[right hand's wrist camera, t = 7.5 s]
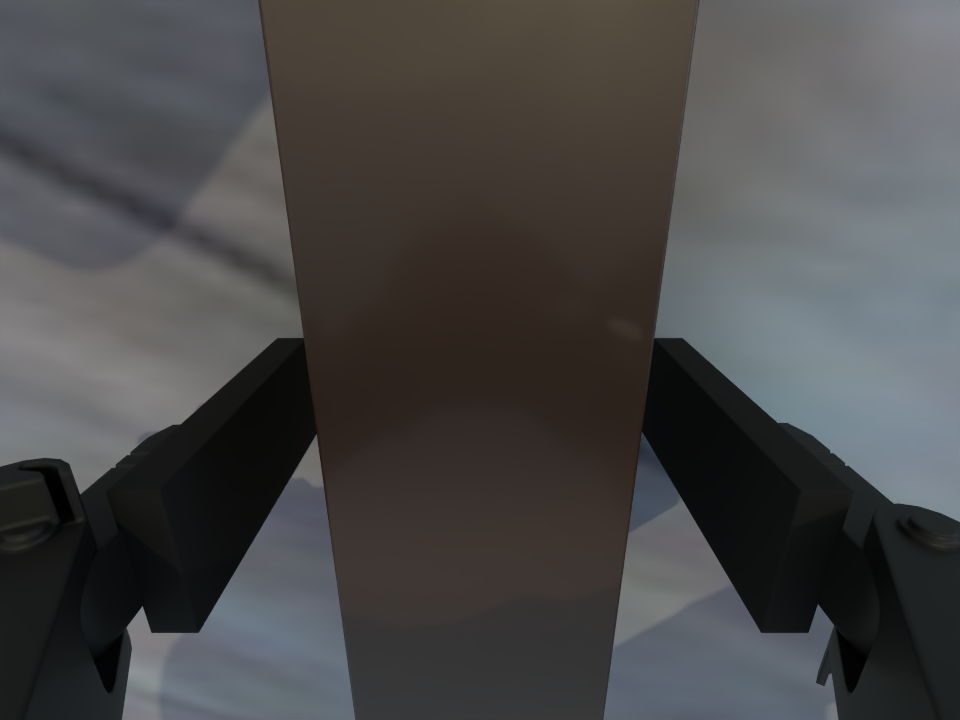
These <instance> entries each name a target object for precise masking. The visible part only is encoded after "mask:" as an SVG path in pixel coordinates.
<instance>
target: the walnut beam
mask: <svg viewBox="0 0 960 720" xmlns="http://www.w3.org/2000/svg"><path fill="white" fill-rule="evenodd" d="M258 1H259V9H260V16H261V23H262V31H263V38H264V46H265V53H266V60H267V68H268V75H269V83H270V90H271V97H272V105H273V112H274V120H275V127H276V135H277V142H278V149H279V157H280V164H281V172H282V179H283V186H284V194H285V201H286V209H287V216H288V223H289V231H290V238H291V246H292V253H293V260H294V268H295V275H296V283H297V290H298V298H299V305H300V312H301V320H302V327H303V335H304V342H305V349H306V357H307V364H308V372H309V379H310V386H311V394H312V401H313V409H314V416H315V423H316V431H317V438H318V446H319V453H320V461H321V468H322V475H323V483H324V490H325V498H326V505H327V512H328V520H329V527H330V535H331V542H332V549H333V557H334V564H335V572H336V579H337V586H338V594H339V601H340V609H341V616H342V624H343V631H344V638H345V646H346V653H347V661H348V668H349V675H350V683H351V690H352V698H353V705H354V712H355V720H603V717H604V709H605V702H606V694H607V687H608V680H609V672H610V665H611V657H612V650H613V642H614V635H615V627H616V620H617V612H618V605H619V597H620V590H621V582H622V575H623V567H624V560H625V552H626V545H627V538H628V530H629V523H630V515H631V508H632V500H633V493H634V485H635V478H636V470H637V463H638V455H639V448H640V440H641V433H642V425H643V418H644V410H645V403H646V396H647V388H648V381H649V373H650V366H651V358H652V351H653V343H654V336H655V328H656V321H657V313H658V306H659V298H660V291H661V283H662V276H663V269H664V261H665V254H666V246H667V239H668V231H669V224H670V216H671V209H672V201H673V194H674V186H675V179H676V171H677V164H678V156H679V149H680V141H681V134H682V127H683V119H684V112H685V104H686V97H687V89H688V82H689V74H690V67H691V59H692V52H693V44H694V37H695V29H696V22H697V14H698V7H699V0H258Z"/></svg>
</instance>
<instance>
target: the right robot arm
mask: <svg viewBox="0 0 960 720" xmlns="http://www.w3.org/2000/svg"><path fill="white" fill-rule="evenodd" d="M642 432H643V434H644V435H645V437H646V439H647V440H648V442H649V444H650V446H651V447H652V449H653V451H654V452H655V454H656V456H657V457H658V459H659V461H660V462H661V464H662V466H663V468H664V469H665V471H666V473H667V474H668V476H669V478H670V479H671V481H672V483H673V484H674V486H675V488H676V489H677V491H678V493H679V495H680V496H681V498H682V500H683V501H684V503H685V505H686V506H687V508H688V510H689V511H690V513H691V515H692V516H693V518H694V520H695V522H696V523H697V525H698V527H699V528H700V530H701V532H702V533H703V535H704V537H705V538H706V540H707V542H708V544H709V545H710V547H711V549H712V550H713V552H714V554H715V555H716V557H717V559H718V560H719V562H720V564H721V565H722V567H723V569H724V571H725V572H726V574H727V576H728V577H729V579H730V581H731V582H732V584H733V586H734V587H735V589H736V591H737V592H738V594H739V596H740V598H741V599H742V601H743V603H744V604H745V606H746V608H747V609H748V611H749V613H750V614H751V616H752V618H753V619H754V621H755V623H756V625H757V626H758V628H759V630H760V631H761V633H808V632H809V629H810V626H811V623H812V620H813V617H814V614H815V611H816V608H817V605H818V604H819V606H820V607H821V608H822V610H823V611H824V612H825V614H826V615H827V616H828V618H829V619H830V620H831V622H832V623H833V624H834V628H833V631H832V634H831V636H830V639H829V642H828V645H827V648H826V651H825V654H824V657H823V659H822V662H821V665H820V668H819V671H818V675H817V681H816V683H818V684H820V685H823V686H825V683H826V680H827V677H828V675H829V674H830V673H832V678H833V685H834V692H835V699H836V706H837V713H838V719H839V720H960V522H958V521H956V520H954V519H952V518H950V517H947V516H945V515H943V514H941V513H938V512H935V511H932V510H928V509H925V508H922V507H919V506H912V505H905V504H893V503H892V502H891V501H890V500H889V499H887V498H886V497H885V496H884V495H883V494H881V493H880V492H879V491H878V490H877V489H876V488H874V487H873V486H872V485H871V484H870V483H868V482H867V481H866V480H865V479H864V478H862V477H861V476H860V475H859V474H858V473H856V472H855V471H854V470H853V469H852V468H850V467H849V466H845V463H844V462H843V461H842V460H841V459H840V458H838V457H837V456H836V455H835V454H834V453H830V450H829V449H828V448H827V447H825V446H824V445H823V444H822V443H821V442H819V441H818V440H817V439H816V438H815V437H813V436H812V435H810V434H808V433H806V432H804V431H802V430H800V429H798V428H796V427H794V426H792V425H790V424H788V423H777V422H776V421H775V420H774V419H772V418H771V417H770V416H769V415H768V414H767V413H766V412H765V411H764V410H762V409H761V408H760V407H759V406H758V405H757V404H756V403H755V402H753V401H752V400H751V399H750V398H749V397H748V396H747V395H746V394H744V393H743V392H742V391H741V390H740V389H739V388H738V387H737V386H735V385H734V384H733V383H732V382H731V381H730V380H729V379H728V378H727V377H725V376H724V375H723V374H722V373H721V372H720V371H719V370H718V369H716V368H715V367H714V366H713V365H712V364H711V363H710V362H709V361H707V360H706V359H705V358H704V357H703V356H702V355H701V354H700V353H698V352H697V351H696V350H695V349H694V348H693V347H692V346H691V345H690V344H688V343H687V342H686V341H685V340H684V339H683V338H654V343H653V351H652V358H651V366H650V373H649V381H648V388H647V396H646V403H645V410H644V418H643V425H642ZM316 434H317V431H316V423H315V416H314V409H313V401H312V394H311V386H310V379H309V372H308V364H307V357H306V349H305V342H304V338H277V339H276V340H275V341H274V342H273V343H272V344H270V345H269V346H268V347H267V348H266V349H265V350H264V351H263V352H261V353H260V354H259V355H258V356H257V357H256V358H255V359H254V360H253V361H251V362H250V363H249V364H248V365H247V366H246V367H245V368H244V369H242V370H241V371H240V372H239V373H238V374H237V375H236V376H235V377H233V378H232V379H231V380H230V381H229V382H228V383H227V384H226V385H225V386H223V387H222V388H221V389H220V390H219V391H218V392H217V393H216V394H214V395H213V396H212V397H211V398H210V399H209V400H208V401H207V402H205V403H204V404H203V405H202V406H201V407H200V408H199V409H198V410H196V411H195V412H194V413H193V414H192V415H191V416H190V417H189V418H188V419H186V420H185V421H184V422H183V423H182V424H181V425H172V426H170V427H168V428H166V429H164V430H162V431H160V432H158V433H156V434H154V435H152V436H150V437H148V438H147V439H146V440H145V441H143V442H142V443H141V444H140V445H139V446H137V447H136V448H135V449H134V450H133V451H132V452H131V454H130V455H127V456H126V457H124V458H123V459H122V460H121V461H120V462H118V463H117V464H116V468H111V469H110V470H109V471H108V472H107V473H105V474H104V475H103V476H102V477H101V478H99V479H98V480H97V481H96V482H95V483H94V484H92V485H91V486H90V487H89V488H88V489H86V490H85V491H84V492H83V493H82V494H81V495H80V493H79V490H78V488H77V485H76V482H75V479H74V476H73V473H72V470H71V468H70V465H69V464H68V463H67V462H65V461H63V460H61V459H51V458H41V459H33V460H25V461H21V462H17V463H13V464H9V465H6V466H2V467H0V720H122V714H123V707H124V700H125V693H126V686H127V679H128V672H129V665H130V658H131V652H132V647H131V641H130V636H129V634H128V631H127V628H126V627H127V626H128V625H129V623H130V622H131V621H132V619H133V618H134V617H135V615H136V614H137V613H138V611H139V610H140V609H141V607H142V606H143V608H144V611H145V614H146V617H147V620H148V623H149V626H150V629H151V632H152V633H199V631H200V630H201V628H202V626H203V625H204V623H205V621H206V619H207V618H208V616H209V614H210V613H211V611H212V609H213V608H214V606H215V604H216V603H217V601H218V599H219V598H220V596H221V594H222V592H223V591H224V589H225V587H226V586H227V584H228V582H229V581H230V579H231V577H232V576H233V574H234V572H235V571H236V569H237V567H238V565H239V564H240V562H241V560H242V559H243V557H244V555H245V554H246V552H247V550H248V549H249V547H250V545H251V543H252V542H253V540H254V538H255V537H256V535H257V533H258V532H259V530H260V528H261V527H262V525H263V523H264V522H265V520H266V518H267V516H268V515H269V513H270V511H271V510H272V508H273V506H274V505H275V503H276V501H277V500H278V498H279V496H280V495H281V493H282V491H283V489H284V488H285V486H286V484H287V483H288V481H289V479H290V478H291V476H292V474H293V473H294V471H295V469H296V467H297V466H298V464H299V462H300V461H301V459H302V457H303V456H304V454H305V452H306V451H307V449H308V447H309V446H310V444H311V442H312V440H313V439H314V437H315V435H316Z"/></svg>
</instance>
